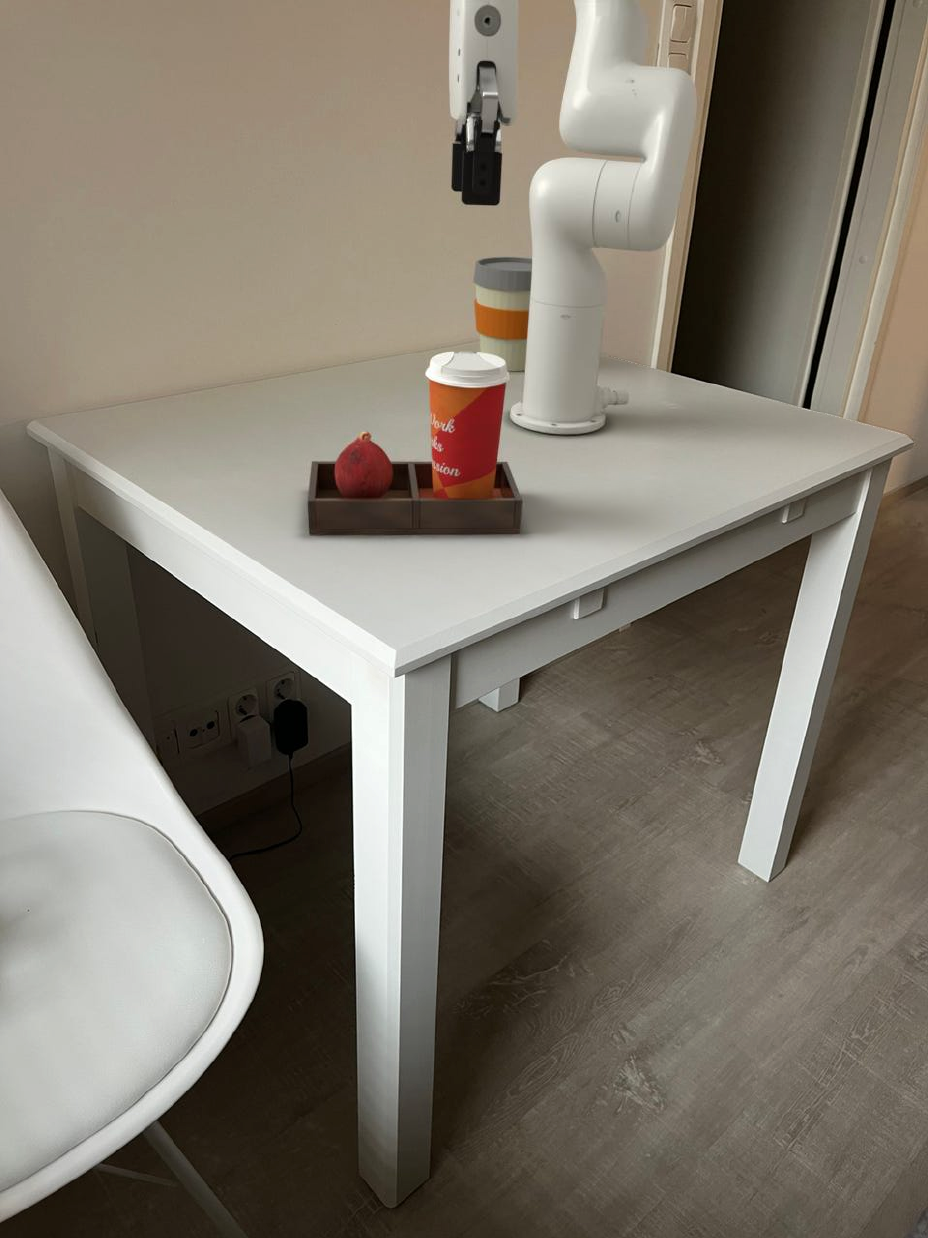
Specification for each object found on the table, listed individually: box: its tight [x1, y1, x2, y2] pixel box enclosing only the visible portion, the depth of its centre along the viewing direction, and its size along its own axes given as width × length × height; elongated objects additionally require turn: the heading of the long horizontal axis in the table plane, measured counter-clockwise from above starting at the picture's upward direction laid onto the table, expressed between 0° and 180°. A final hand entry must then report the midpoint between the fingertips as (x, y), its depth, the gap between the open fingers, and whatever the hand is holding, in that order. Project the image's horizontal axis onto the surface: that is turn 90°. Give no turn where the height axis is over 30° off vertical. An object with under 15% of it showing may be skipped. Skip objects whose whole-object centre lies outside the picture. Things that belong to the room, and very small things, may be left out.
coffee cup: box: [425, 351, 511, 498], centre depth 97 cm, size 8×8×15 cm
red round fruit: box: [335, 430, 393, 498], centre depth 97 cm, size 6×6×8 cm
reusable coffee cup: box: [472, 256, 532, 372], centre depth 149 cm, size 13×13×15 cm
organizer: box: [307, 460, 523, 536], centre depth 99 cm, size 21×11×4 cm, turn 96°
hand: (474, 197), depth 86 cm, fingers open, 9 cm apart
